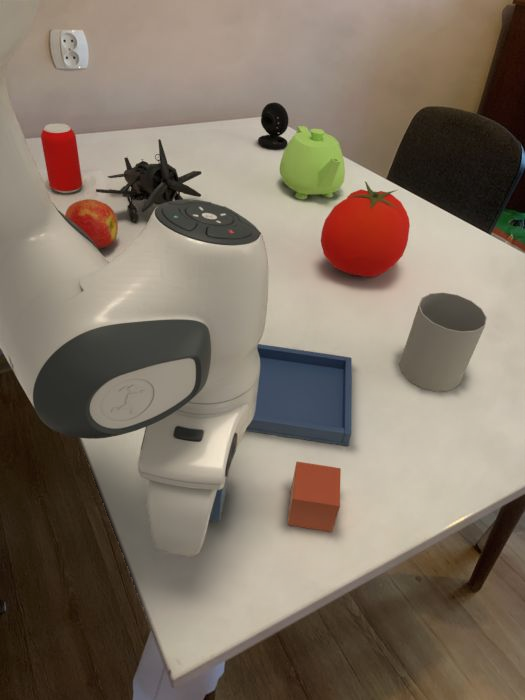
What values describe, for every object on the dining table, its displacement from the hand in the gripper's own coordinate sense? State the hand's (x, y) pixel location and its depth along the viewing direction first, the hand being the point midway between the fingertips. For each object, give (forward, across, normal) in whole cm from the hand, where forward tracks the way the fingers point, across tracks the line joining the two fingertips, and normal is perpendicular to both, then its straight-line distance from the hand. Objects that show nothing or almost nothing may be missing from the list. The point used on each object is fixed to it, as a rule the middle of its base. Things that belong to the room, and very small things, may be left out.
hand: (202, 490), depth 54 cm
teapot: (+2, -81, +6) cm, 81 cm away
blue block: (+2, 0, 0) cm, 2 cm away
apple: (+2, -46, -29) cm, 54 cm away
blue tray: (+2, -17, +8) cm, 19 cm away
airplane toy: (+2, -62, -24) cm, 67 cm away
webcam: (+2, -106, -5) cm, 106 cm away
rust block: (+2, -1, +11) cm, 11 cm away
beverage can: (+2, -66, -42) cm, 78 cm away
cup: (+2, -26, +26) cm, 37 cm away
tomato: (+2, -50, +16) cm, 53 cm away
